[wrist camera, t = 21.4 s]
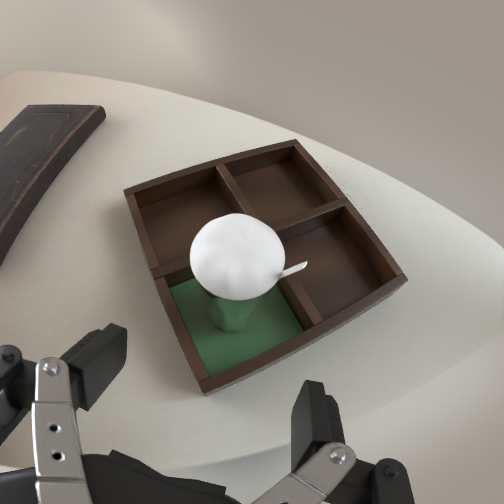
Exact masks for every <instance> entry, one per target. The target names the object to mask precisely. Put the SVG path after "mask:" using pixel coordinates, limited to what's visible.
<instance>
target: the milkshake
mask: <svg viewBox="0 0 504 504" xmlns="http://www.w3.org/2000/svg"><path fill="white" fill-rule="evenodd" d="M307 262H308V261H307V260H306V261H304V262H302V263H300V264H298V265H295V266H293V267H291V268H289V269H287V270H284V271H283V268H284V263H285V252H284V248H283V245H282V243H281V241H280V239H279V237H278V236H277V234H276V233H275V232H274V231H273V230H272V229H271V228H270V227H269V226H267V225H266V224H264V223H263V222H261V221H259V220H257V219H255V218H253V217H251V216H248V215H244V214H229V215H226V216H223V217H220V218H217V219H214V220H212V221H210V222H209V223H207V224H206V225H205V226H204V227H203V228H202V229H201V230H200V231H199V233H198V234H197V235H196V237H195V239H194V241H193V243H192V246H191V250H190V264H191V268H192V271H193V274H194V275H195V278H196V280H197V283H198V285H199V288H200V290H201V292H202V294H203V297H204V300H205V303H206V306H207V309H208V312H209V314H210V317H211V319H212V321H213V323H214V325H215V326H217V327H219V328H221V329H222V330H224V331H226V332H233V331H242V330H243V329H244V328H245V327H246V326H248V325H249V324H250V323H251V322H252V321H253V319H254V318H255V316H256V314H257V313H258V311H259V309H260V308H261V306H262V304H263V302H264V301H265V299H266V297H267V296H268V294H269V293H270V291H271V290H272V288H273V287H274V285H275V284H276V282H277V281H278V279H281V278H283V277H285V276H288V275H290V274H293V273H295V272H297V271H300V270H302V269H304V268H305V266H306V264H307Z"/></svg>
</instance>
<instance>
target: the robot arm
mask: <svg viewBox="0 0 504 504" xmlns="http://www.w3.org/2000/svg"><path fill="white" fill-rule="evenodd" d="M126 355H127V329H126V328H123V327H121V326H118V325H115V324H113V323H110V324H109V325H108V326H107V327H106V328H104V329H103V330H99V329H98V330H95V331H92V332H89V333H88V334H87V335H85V336H84V337H83V338H82V339H81V340H80V341H78V342H77V344H75V345H74V346H73V347H71V348H70V349H69V350H68V351H67V352H66V353H64V354H63V355H62V356H61V357H60V358H54V357H49V358H44V359H42V360H41V361H39V362H38V363H35V362H32V361H28V360H25V359H23V358H22V353H21V351H20V349H18V348H17V347H15V346H13V345H2V346H0V391H1V390H2V389H3V392H2V393H1V394H0V446H1V444H2V443H3V442H4V441H5V439H6V438H7V437H8V436H9V434H10V433H11V432H12V431H13V430H14V428H15V427H16V426H17V425H18V424H19V422H20V421H21V420H22V419H23V418H24V417H25V415H26V414H27V413H28V412H29V411H30V410H32V432H33V448H34V459H35V467H30V468H26V469H21V470H15V471H10V472H4V473H0V504H241V503H240V502H238V501H237V500H235V499H234V498H232V497H230V496H228V495H225V490H226V487H224V486H220V485H216V484H212V483H208V482H204V481H200V480H194V479H183V478H174V477H167V476H164V475H162V474H160V473H158V472H157V471H155V470H153V469H152V468H150V467H148V466H147V465H145V464H144V463H142V462H141V461H139V460H137V459H134V458H132V457H129V456H127V455H124V454H122V453H120V452H118V451H115V450H113V449H112V451H111V453H110V454H109V456H108V455H102V454H83V450H82V445H81V441H80V435H79V430H78V424H77V418H76V410H77V409H78V408H79V407H80V408H82V409H84V410H86V411H89V409H90V408H91V407H92V406H93V404H94V403H95V402H96V401H97V399H98V398H99V397H100V396H101V394H102V393H103V392H104V391H105V389H106V388H107V387H108V386H109V384H110V383H111V382H112V381H113V379H114V378H115V377H116V376H117V374H118V373H119V372H120V371H121V370H122V368H123V366H124V364H125V361H126ZM340 420H341V418H340V414H339V408H338V404H337V402H336V401H335V400H334V398H333V397H332V396H331V395H325V390H324V385H323V383H321V382H316V381H310V380H305V382H304V384H303V386H302V388H301V391H300V393H299V395H298V397H297V400H296V402H295V404H294V407H293V410H292V415H291V473H289V474H288V475H287V476H285V477H284V478H283V479H282V480H281V481H279V482H278V483H277V484H276V485H274V487H272V488H271V489H269V490H268V491H267V492H266V493H264V494H263V495H262V496H260V497H259V498H258V499H256V500H255V501H254V502H252V503H251V504H321V503H322V501H325V502H328V503H331V504H415V503H414V498H413V494H412V490H411V486H410V482H409V478H408V474H407V470H406V468H405V467H404V465H403V464H402V463H400V462H399V461H397V460H394V459H390V458H385V459H382V460H380V461H379V462H378V463H377V464H376V465H375V464H371V463H367V462H365V461H361V460H359V459H357V458H356V455H355V453H354V451H353V450H352V449H351V448H350V447H349V446H347V445H346V444H345V439H344V433H343V428H342V423H341V421H340Z"/></svg>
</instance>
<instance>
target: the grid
mask: <svg viewBox="0 0 504 504" xmlns="http://www.w3.org/2000/svg"><path fill="white" fill-rule="evenodd" d="M123 192H124V195H125V199H126V202H127V205H128V208H129V212H130V215H131V218H132V221H133V224H134V227H135V230H136V233H137V236H138V239H139V242H140V245H141V248H142V251H143V253H144V256H145V259H146V262H147V264H148V267H149V270H150V272H151V275H152V278H153V280H154V283H155V286H156V288H157V291H158V293H159V296H160V298H161V301H162V303H163V306H164V308H165V311H166V313H167V315H168V318H169V320H170V323H171V325H172V327H173V330H174V332H175V334H176V336H177V339H178V341H179V343H180V345H181V348H182V350H183V352H184V354H185V356H186V359H187V361H188V363H189V365H190V367H191V369H192V371H193V373H194V375H195V378H196V380H197V382H198V383H199V386H200V388H201V390H202V392H203V393H204V395H205V396H209V395H211V394H213V393H215V392H218V391H220V390H222V389H224V388H226V387H229V386H231V385H233V384H235V383H237V382H239V381H241V380H244V379H246V378H248V377H250V376H252V375H254V374H256V373H258V372H260V371H262V370H264V369H266V368H268V367H270V366H272V365H274V364H276V363H278V362H280V361H281V360H283V359H285V358H287V357H289V356H291V355H293V354H295V353H296V352H298V351H300V350H302V349H304V348H306V347H307V346H309V345H311V344H313V343H314V342H316V341H318V340H320V339H321V338H323V337H325V336H327V335H328V334H330V333H332V332H333V331H335V330H337V329H338V328H340V327H342V326H343V325H345V324H347V323H348V322H350V321H352V320H353V319H355V318H356V317H358V316H360V315H361V314H363V313H364V312H366V311H368V310H369V309H371V308H372V307H374V306H375V305H377V304H378V303H380V302H381V301H383V300H384V299H386V298H387V297H389V296H390V295H392V294H393V293H394V292H395V291H397V290H398V289H399V288H400V287H401V286H402V285H403V284H405V283H406V282H407V281H408V279H407V277H406V276H405V274H404V273H402V270H401V269H400V267H399V266H398V264H397V263H396V262H395V260H394V259H393V257H392V256H391V254H390V253H389V252H388V250H387V249H386V248H385V246H384V245H383V243H382V242H381V241H380V239H379V238H378V237H377V235H376V234H375V233H374V231H373V230H372V229H371V227H370V226H369V225H368V224H367V222H366V221H365V220H364V218H363V217H362V216H361V215H360V213H359V212H358V211H357V209H356V208H355V207H354V206H353V204H352V203H351V202H350V201H349V200H348V198H347V197H345V195H344V193H343V192H342V191H341V190H340V189H339V187H338V186H337V185H336V184H335V183H334V181H333V180H332V179H331V178H330V177H329V176H328V174H327V173H326V172H325V171H324V170H323V169H322V168H321V166H320V165H319V164H318V163H317V162H316V161H315V160H314V158H313V157H312V156H311V155H310V154H309V153H308V152H307V151H306V150H305V148H304V147H303V146H302V145H301V144H300V143H299V142H298V141H297V140H296V139H294V140H289V141H285V142H281V143H276V144H272V145H268V146H264V147H260V148H256V149H252V150H248V151H244V152H241V153H237V154H233V155H230V156H226V157H222V158H219V159H215V160H212V161H209V162H205V163H202V164H199V165H195V166H192V167H189V168H186V169H182V170H179V171H176V172H173V173H170V174H167V175H164V176H161V177H158V178H155V179H152V180H149V181H147V182H144V183H141V184H138V185H135V186H133V187H130V188H127V189H125V190H123ZM229 214H244V215H248V216H251V217H253V218H255V219H257V220H259V221H261V222H263V223H264V224H266V225H267V226H269V227H270V228H271V229H272V230H273V231H274V232H275V233H276V234H277V236H278V237H279V239H280V241H281V243H282V245H283V248H284V252H285V263H284V268H283V271H284V270H287V269H289V268H291V267H293V266H295V265H298V264H300V263H302V262H304V261H306V260H307V261H308V262H307V264H306V266H305V268H304V269H302V270H300V271H297V272H295V273H293V274H290V275H288V276H285V277H283V278H281V279H278V281H277V282H276V284H275V285H274V287H273V288H272V290H271V291H270V293H269V294H268V296H267V297H266V299H265V301H264V302H263V304H262V306H261V308H260V309H259V311H258V313H257V314H256V316H255V318H254V319H253V321H252V322H251V323H250V324H249V325H248V326H246V327H245V328H244V329H243V330H242V331H233V332H226V331H224V330H222V329H221V328H219V327H217V326H215V325H214V323H213V321H212V319H211V317H210V314H209V312H208V309H207V306H206V303H205V300H204V297H203V294H202V292H201V290H200V288H199V285H198V283H197V280H196V278H195V275H194V274H193V271H192V268H191V264H190V250H191V246H192V243H193V241H194V239H195V237H196V235H197V234H198V233H199V231H200V230H201V229H202V228H203V227H204V226H205V225H206V224H207V223H209V222H210V221H212V220H214V219H217V218H220V217H223V216H226V215H229Z"/></svg>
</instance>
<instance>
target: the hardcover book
mask: <svg viewBox="0 0 504 504" xmlns="http://www.w3.org/2000/svg"><path fill="white" fill-rule="evenodd" d="M105 118H106V113H105V110H104V108H103V107H102V106H97V105H28V106H27V107H26V108H25V109H23V110H22V111H21V112H20V113H19V114H18V115H17V116H16V117H15V118H14V119H13V120H12V121H11V122H10V123H9V124H8V125H7V126H6V127H5V129H4V130H3V131H2V132H1V133H0V265H1V263H2V261H3V259H4V257H5V256H6V254H7V252H8V250H9V248H10V247H11V245H12V243H13V241H14V240H15V238H16V236H17V234H18V233H19V231H20V229H21V228H22V226H23V225H24V223H25V221H26V220H27V218H28V217H29V215H30V213H31V212H32V210H33V209H34V207H35V206H36V204H37V203H38V201H39V200H40V199H41V197H42V196H43V194H44V193H45V191H46V190H47V189H48V187H49V186H50V184H51V183H52V182H53V180H54V179H55V178H56V176H57V175H58V174H59V172H60V171H61V170H62V168H63V167H64V166H65V165H66V163H67V162H68V161H69V160H70V158H71V157H72V156H73V155H74V153H75V152H76V151H77V150H78V149H79V147H80V146H81V145H82V144H83V143H84V142H85V140H86V139H87V138H88V137H89V136H90V135H91V134H92V132H93V131H94V130H95V129H96V128H97V127H98V126H99V125H100V124H101V123H102V121H103V120H104V119H105Z"/></svg>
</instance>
